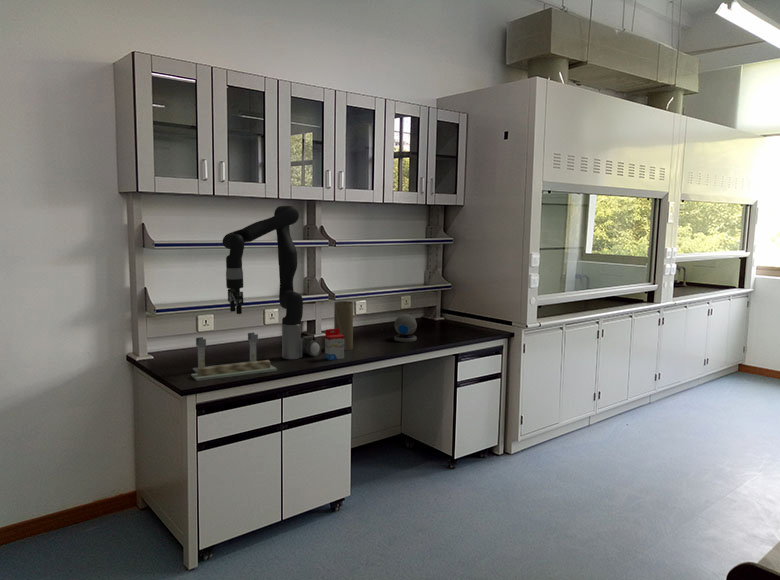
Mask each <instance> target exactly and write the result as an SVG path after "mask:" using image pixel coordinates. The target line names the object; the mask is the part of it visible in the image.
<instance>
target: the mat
mask: <svg viewBox="0 0 780 580" xmlns="http://www.w3.org/2000/svg"><path fill="white" fill-rule="evenodd" d="M277 371H278V368H277V367H275V366H273V365H272V364H270V368H264V369H256V370H248V371H240V372H232V373H224V374H216V375H208V376H200V377H199V376H198V373H195V372H194V373H191V374H190V375H191V377H192V378H193V379H194V380H195V381H196V382H200V381H208V380H215V379H222V378H230V377H231V378H232V377H238V376H246V375H255V374H260V373H261V374H262V373H269V372H277Z"/></svg>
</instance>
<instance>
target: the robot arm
mask: <svg viewBox="0 0 780 580" xmlns="http://www.w3.org/2000/svg"><path fill="white" fill-rule="evenodd" d="M299 213H300V212H299V210H298V209H297V208H296V207H295V206H292V205H281V206H280V205H279V206H278V207H276V209H275V210H274V213H273V216H271V217H269V218H266V219H262V220H259V221H256V222H253V223H251V224H249V225H247V226H245V227H243V228H241V229H237V230H234V231H232V232H229V233H227V234H225V235H224V236H223V239H222V245H223V246H224V247H225V248H226V249H228V250H229V254H228V255H227V256H226V258H225V263H226V264H225V266H226V267H225V268H226V271H225V282H226V283H225V284H226V285H225V286H226V289H227V302H228V303H229V308H230V312H231V313H232V312H236V315H242V313H243V311H242V310H243V308H242V306H243V305H244V292H243V291H241V289H243V288H244V271H243V270H244V269H243V255H244V250H245V243H249V242H253V241H255V240H256V239H258V238H260V237H263V236H265V235H266V234H270V233H271V232H274V231H275V232H276V240H277V258H278V272H279V275H278V277H279V291H278V293H279V294H278V299H279V300H278V301H279V305H280V307H282V308H283V309H285V310H286V312H285V316H283V317H282V319H281V329H282V330H281V342H282V344H281V345H282V347H281V348H282V349H281V353H282V355H281V356H282V359H285V360H297V359H301V358H303V354H302V340H303V337H302V334H301V333H302V330H301V329H302V319H303V312H304V311H303V310H304V300H303V297H302V296H303V295H301V293H299V292H297V291H294V290H295V289H294V278H295V274H296V272H297V269H298V251H297V248H296V245H295V243H294V241H293V240H292V239H293V238H292V237H291V236H292V235H291V233H290V226H291V225H294V224H296V223H297V222H298V220H299V216H300V215H299Z"/></svg>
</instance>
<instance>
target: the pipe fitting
mask: <svg viewBox="0 0 780 580" xmlns="http://www.w3.org/2000/svg"><path fill="white" fill-rule="evenodd" d="M321 344H322V343H321V342H320V341H319V340H314V335H311V334H310V335H305V336H303V337H302V355H309V356H311V357H318V356H319V355H320V354H321V352H322V345H321Z"/></svg>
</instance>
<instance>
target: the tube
mask: <svg viewBox="0 0 780 580" xmlns="http://www.w3.org/2000/svg"><path fill="white" fill-rule="evenodd" d="M333 305H334V307H333V309H334V311H333V314H334V316H333V318H334V321H333V323H334V324H333V325H334V326H333V327H334V328H333V329H338V328H339V329H340V333H339V334H341V335H344V351H350V350H353V349H354V346H353V345H354V340H353V339H354V338H353V337H354V333H353V332H354V302H353V301H350V300H349V301H348V300H347V301H345V300H341V301H334V304H333ZM333 332H335V331H333Z"/></svg>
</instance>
